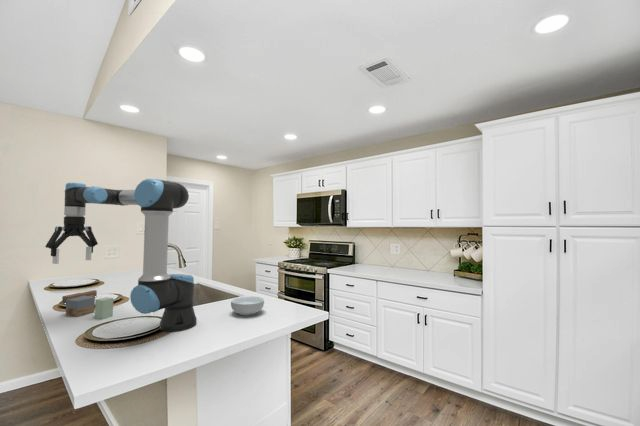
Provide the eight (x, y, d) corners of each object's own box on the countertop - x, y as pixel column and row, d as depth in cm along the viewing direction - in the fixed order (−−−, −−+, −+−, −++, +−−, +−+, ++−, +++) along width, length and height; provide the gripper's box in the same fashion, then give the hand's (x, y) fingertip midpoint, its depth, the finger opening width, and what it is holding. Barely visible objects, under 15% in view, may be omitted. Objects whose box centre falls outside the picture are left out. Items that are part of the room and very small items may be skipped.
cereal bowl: (270, 312, 152) (270, 298, 152) (247, 321, 138) (247, 306, 138) (247, 306, 161) (248, 294, 161) (223, 314, 147) (224, 300, 147)
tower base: (94, 312, 147) (94, 305, 147) (77, 317, 139) (77, 309, 139) (83, 311, 149) (83, 303, 149) (65, 316, 141) (66, 307, 141)
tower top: (94, 305, 147) (94, 297, 147) (77, 309, 139) (77, 301, 139) (83, 303, 149) (83, 295, 149) (66, 307, 141) (66, 299, 142)
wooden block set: (60, 294, 160) (94, 288, 177) (59, 305, 160) (93, 297, 177) (81, 297, 155) (114, 290, 172) (80, 308, 155) (113, 299, 172)
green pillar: (112, 316, 141) (113, 298, 141) (102, 319, 136) (103, 300, 137) (105, 315, 143) (105, 297, 143) (94, 318, 138) (95, 299, 138)
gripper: (96, 216, 146) (94, 258, 146) (36, 215, 123) (33, 264, 122) (107, 216, 144) (105, 259, 143) (48, 215, 120) (45, 265, 120)
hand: (72, 261), depth 133 cm, fingers open, 13 cm apart
